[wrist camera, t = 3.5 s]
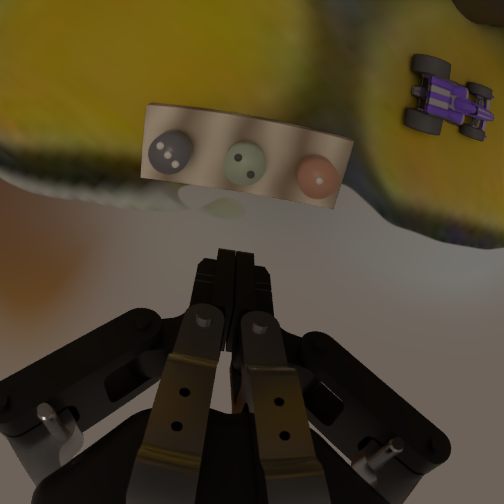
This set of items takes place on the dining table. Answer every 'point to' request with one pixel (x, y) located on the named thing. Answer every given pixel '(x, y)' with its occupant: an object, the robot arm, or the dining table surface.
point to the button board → (237, 129)
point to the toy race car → (447, 100)
